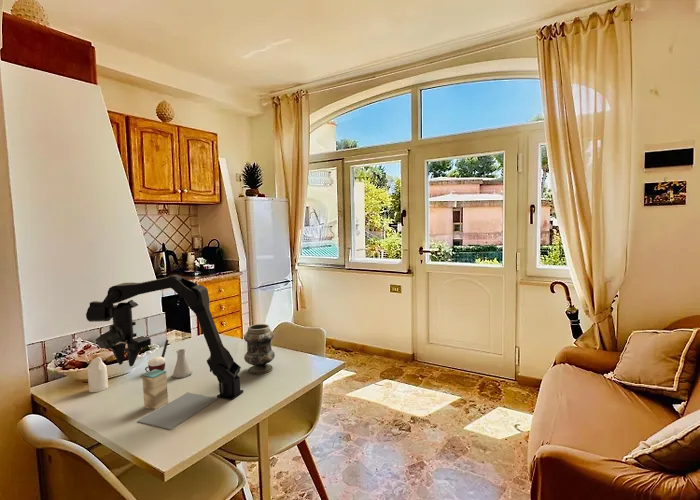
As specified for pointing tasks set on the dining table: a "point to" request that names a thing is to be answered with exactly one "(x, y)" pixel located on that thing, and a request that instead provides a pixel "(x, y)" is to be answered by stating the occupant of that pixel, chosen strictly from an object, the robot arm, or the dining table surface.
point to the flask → (182, 365)
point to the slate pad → (177, 411)
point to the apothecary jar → (259, 348)
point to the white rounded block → (97, 375)
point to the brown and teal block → (155, 389)
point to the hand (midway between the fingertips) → (126, 365)
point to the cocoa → (157, 361)
